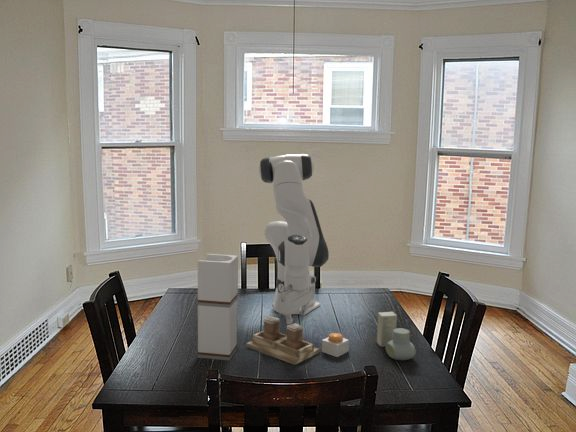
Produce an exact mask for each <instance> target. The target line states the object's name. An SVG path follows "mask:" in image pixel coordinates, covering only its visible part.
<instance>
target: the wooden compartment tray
mask: <svg viewBox="0 0 576 432" xmlns="http://www.w3.org/2000/svg"><path fill="white" fill-rule="evenodd" d="M251 338H252V339H251V341H248V342H246V348H249V349H251V350H254V351H257V352H259V353H262V354H264V355H268V356H270V357H273V358H275V359H278V360H281V361H283V362H286V363H288V364H292V365H293V366H295V365H298V364H299V363H301V362H303V361H305V360H308V359H310V358H311V357H314V356H316V355H318V354H320V349H319V348H318V347H315V343H313V342H309V341H306V340H303V339H302V348H301V349H299V350H297V349H294V348H291V347H288V346H286V344H287V333H284V332H280V318H278V317H276V316H268V317H266V318H264V319H263V330H262V331H259V332H257V333H254V334H252V336H251Z"/></svg>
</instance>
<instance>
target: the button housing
mask: <svg viewBox="0 0 576 432" xmlns="http://www.w3.org/2000/svg"><path fill="white" fill-rule="evenodd" d="M328 338H329V336H328V337H326V338H323V339H322V340H321V353H324V354H328V355H330V356H333V357H336V358H338V357H340V356H342V355H344V354H347V353H348V352H349V345H350V339H347V338H345V337H343V341H340V342H338V343H335V342H332V341H329V340H328Z"/></svg>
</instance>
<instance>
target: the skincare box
mask: <svg viewBox="0 0 576 432" xmlns="http://www.w3.org/2000/svg"><path fill="white" fill-rule="evenodd" d="M397 319H398V316H397V314H396V313H395V312H394V311H382V312H381V311H379V312H377V329H376V330H377V331H376V332H377V333H376V343H377V344H378V346H379V347H386V344H387V343H388V342H389V341H391V340H393V330H394V329H397Z"/></svg>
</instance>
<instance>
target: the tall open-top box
mask: <svg viewBox="0 0 576 432" xmlns="http://www.w3.org/2000/svg"><path fill="white" fill-rule="evenodd" d="M205 258H206V260H203V259H202V260H201V259H198V260H197V358H199V359H210V360H218V361H219V360H221V361H229V362H230V360H231V359H232V358H233V356H234V355H235V353H236V352H237V350H238V343H237V337H238V336H237V335H238V333H237V332H238V331H237V327H238V326H237V325H238V324H237V323H238V322H237V321H238V319H237V318H238V315H237V314H238V303H239V302H238V301H239V297H238V296H239V292H238V291H239V286H238V285H239V255H235V254H234V255H233V254H220V253H217V254H216V253H206V257H205Z"/></svg>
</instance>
